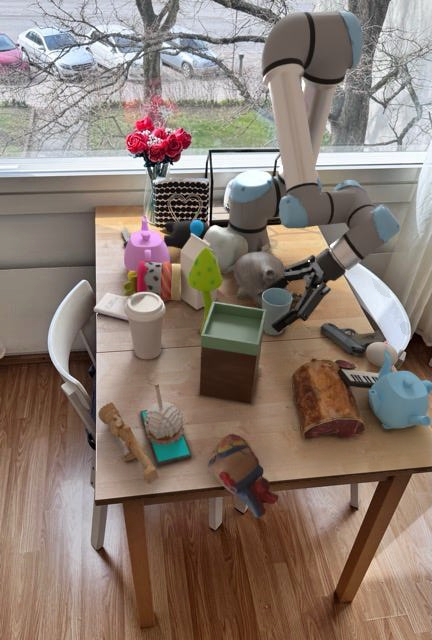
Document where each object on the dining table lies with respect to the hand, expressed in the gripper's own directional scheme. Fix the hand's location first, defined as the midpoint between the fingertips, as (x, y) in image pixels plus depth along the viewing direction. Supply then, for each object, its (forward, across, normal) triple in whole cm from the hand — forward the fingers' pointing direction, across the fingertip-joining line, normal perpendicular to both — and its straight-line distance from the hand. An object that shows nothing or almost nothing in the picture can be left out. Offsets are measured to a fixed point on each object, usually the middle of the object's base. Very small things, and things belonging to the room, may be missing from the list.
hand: (269, 312), depth 139 cm
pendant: (-4, +8, -11) cm, 15 cm away
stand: (+13, -18, +4) cm, 23 cm away
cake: (+16, +15, +16) cm, 27 cm away
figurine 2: (-18, -13, -18) cm, 29 cm away
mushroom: (+16, 0, +8) cm, 18 cm away
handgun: (-16, 0, -24) cm, 28 cm away
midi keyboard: (-12, -20, -16) cm, 29 cm away
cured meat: (-3, -24, -13) cm, 28 cm away
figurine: (+23, -48, +19) cm, 56 cm away
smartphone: (+24, -34, +15) cm, 44 cm away
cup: (+3, +1, -6) cm, 7 cm away
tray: (+2, -19, +14) cm, 24 cm away
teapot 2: (-12, -31, -22) cm, 39 cm away
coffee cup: (+26, -7, +18) cm, 33 cm away
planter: (+3, +26, +3) cm, 26 cm away
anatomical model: (+12, -42, +11) cm, 46 cm away
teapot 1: (+26, +31, +19) cm, 45 cm away
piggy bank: (+5, +16, -4) cm, 17 cm away
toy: (+18, +40, +19) cm, 48 cm away
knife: (+31, +44, +26) cm, 59 cm away
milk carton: (+16, +14, +8) cm, 23 cm away
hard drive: (+26, +8, +20) cm, 34 cm away
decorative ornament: (+24, -34, +15) cm, 44 cm away
